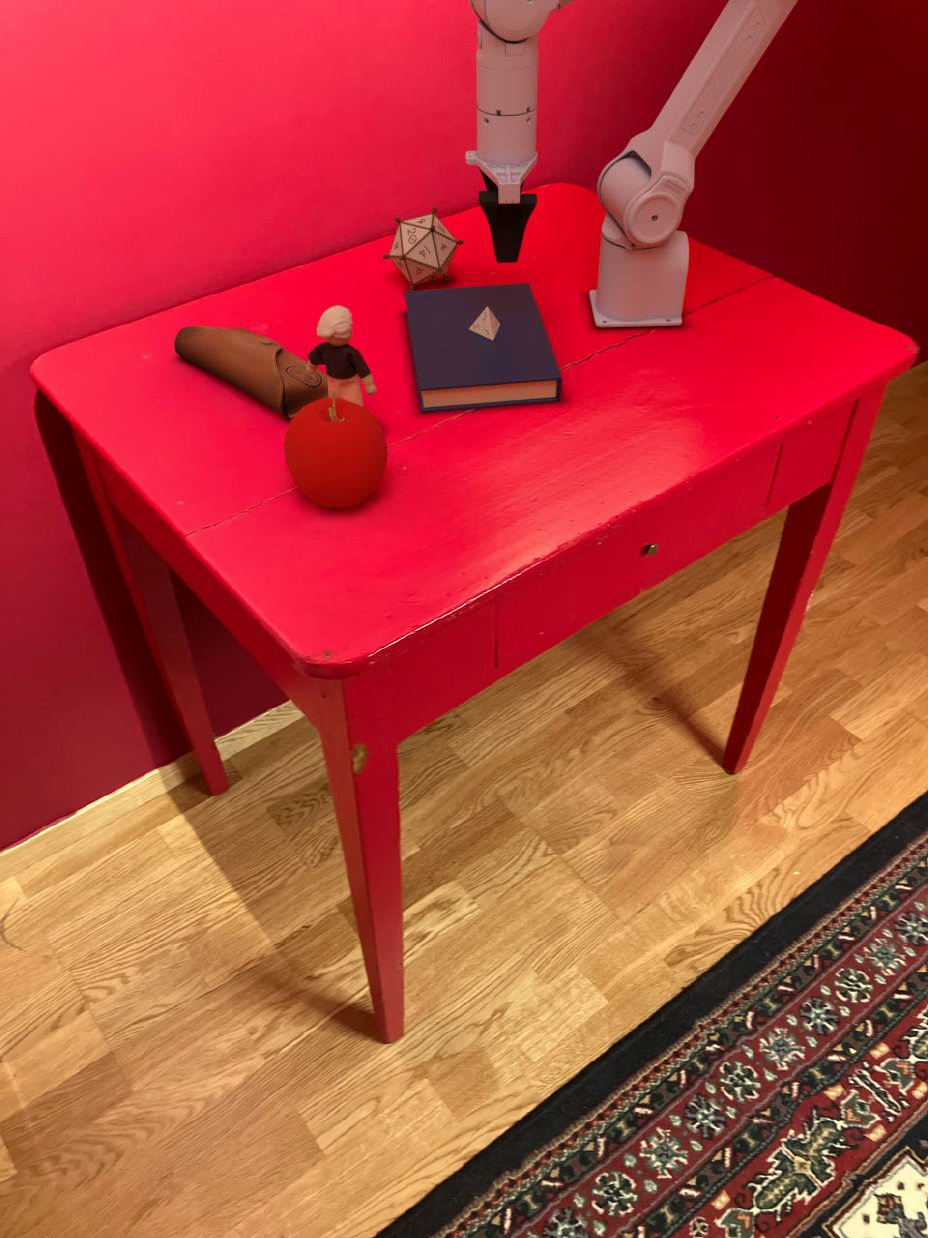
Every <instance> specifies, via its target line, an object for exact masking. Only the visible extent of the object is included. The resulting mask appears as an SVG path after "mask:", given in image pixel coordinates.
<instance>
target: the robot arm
mask: <svg viewBox="0 0 928 1238" xmlns="http://www.w3.org/2000/svg"><path fill="white" fill-rule="evenodd" d="M576 1H577V0H468V3H469V5H470V7H471V10H472V12H473V13H474V14H475V16H476V17H477V18H478V20H477V22H476V23H477V24H476V30H477V33H476V34H477V36H476V40H477V41H476V42H477V50H476V55H475V57H476V59H475V62H476V63H475V67H476V73H475V75H476V143H477V144H476V149H475V150H467V151H466V152H465V165H468V166H476V167H477V168H478V170H479V172H480V174H481V177H482V178H483V182H484V185H485V189H486V190H479V191H478V202H479V205H480V208H481V210H482V212H483V213H484V215H485V218H486V220H487V223H488V226H489V230H490V235H491V241H492V248H493V253H494V258H495V260H496V263H497V264H516V263H518V261H519V257H520V255H521V249H522V245H523V240H524V237H525V236H524V234H525V230H526V228H527V225H528V222H529V220H530V217H531V216H532V214H533V212H534V211H535V209H536V207H537V205H538V199H539V198H538V194H537V193H536V192H535V193H522V189H523V187H524V183H525V180H526V179H527V178H528V176H529V175H530V173H531V172H532V171H533V169H534V168H535V167H536V165H537V164H538V156H539V155H538V151H537V149H536V148H537V119H538V117H537V116H538V80H539V33H540V32H541V30H542V28H543V27H544V25H545V24H546V22H547V19H548V17H549V15H550V14H553V13H555V12H558V11H560V10H561V9H563V8H565V7H567V6H569V5H570V4H572V3H574V2H576ZM798 1H799V0H728V1H727V3H726V5H725V7H723V9H722V11H721V13H720V15H719V16H718V18H717V19H716V21H715V22H714V24H713V26H712V28H711V29H710V31H709V33H708V34H707V36H706V37H705V39H704V40H703V42H702V44H701V46H700V47H699V49H698V50H697V52H696V54H695V55H694V57H693V59H692V60H691V62H690V64H689V65H688V67H687V68H686V70H685V72H684V73H683V75H682V77H681V78H680V80H679V81H678V83H677V84H676V86H675V88H674V89H673V91H672V93H671V95H670V96H669V98H668V100H666V103H665V104H664V106H663V107H662V109H661V111H660V112H659V114H658V116H657V117H656V118H655V121H654V122H653V124H652V125H651V127H649V128H648V129H647V130H645V131H643V132H640V133H639V134H636V135H635V136H633V137H632V138H630V140H629V142H628V143H627V145H626V147H625V148H624V149H623V151H621V153H619V155H617V156H616V157H614V158H612V160H610V161H609V162H608V163H607V164H606V165H605V166H604V168H603V169H602V171H601V173H600V174H599V176H598V180H597V184H596V185H597V186H596V194H597V198H598V201H599V203H600V204H601V206H602V207H603V208H604V210H605V217H604V220H603V222H602V226H601V235H600V247H599V258H598V259H599V260H598V271H597V272H598V273H597V285H596V286H597V287H596V289H591V290H589V292H588V296H589V300H590V306H591V310H592V316H593V320H594V325H595V327H597V328H631V327H635V328H636V327H678V326H682V323H683V319H682V313H683V308H684V302H685V301H684V300H685V294H686V287H687V279H688V273H689V264H690V247H689V246H690V243H689V238H688V234H687V232H686V231H683V230H677V229H678V228H679V226H680V224H681V222H682V218H683V214H684V209H685V205H686V203H687V200H688V199H689V196H691V193H692V192H693V191H694V189H695V166H696V165H695V163H696V158H697V157H698V155H699V154H700V152H701V150H702V149H703V148H704V146H705V144H706V143H707V141H708V140H709V138H710V137H711V135H712V133H713V132H714V131H715V129H716V127H717V126H718V124H719V122H720V121H721V119H722V118H723V116H724V115H725V114H726V113H727V110H728V109H729V108H730V106H731V104H732V102H733V101H734V100H735V98H736V97H737V95H738V94H739V92H740V90H741V89H742V88H743V86H744V84H745V83H746V81H747V80H748V78H749V76H750V75H751V73H752V72H753V70H754V69H755V68H756V65H757V64H758V63H759V62H760V59H761V58H762V57H763V55H764V53H765V52H766V51H767V48H769V45H770V44H771V42H772V41H773V39H774V38H775V37H776V35H777V33H778V32H779V30H780V28H781V27H782V26H783V24H784V22H785V21H786V20H787V18H788V16H789V15H790V13H791V12H792V10H793V9H794V7H795V6H796V4H797V2H798Z"/></svg>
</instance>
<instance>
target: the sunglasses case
mask: <svg viewBox="0 0 928 1238" xmlns="http://www.w3.org/2000/svg"><path fill="white" fill-rule="evenodd" d="M173 343H174V345H173V346H174V352H175V354H176V355H177V356H179V357H180V358H181V359H184V360H185V361H187V362H189V363H192V364H194V365H195V366H198V367H200V368H201V369H203V370H205V371H208V372H210V373H213V374H214V375H215V376H217V377H218V378H220V379H222V380H224V381H225V382H227V383H228V384H230V385H232V386H234V387H236V388H237V389H239V390H240V391H243V392H244V393H245V394H247V395H249V396H251V397H253V398H254V399H256V400H258V401H260V402H261V403H262V404H264V405H265V406H267V407H269V408H271V409H273V411H276V412H277V413H279V414H282V415H283V416H285V417H287V418H288V419H291V420H292V418H293V417H294V416H295V415H296V414H297V413H298V412H299V411H300V410H301V409H302V408H303V407H304V406H306V405H308V404H310V403H312V402H314V401H317V400H320V399H325V398H329V393H328V376H327V373H326V372H324V371H322V370H321V369H319V368H318V367H317V371H316V372H315V373H314V374H310V373H308V372H307V370H306V366H307V364H308V361H306V360H304V359H303V358H301V357H299V356H297V355H296V354H294V353H292V352H290V351H289V350H286V348H284V346H283V345H282V344H281V343H279V342H277V341H275V340H273V339H272V338H269V337H267V336H264V335H260V334H257V333H256V332H253V331H250V330H249V329H246V328H243V327H236V328H223V327H216V326H205V325H204V326H202V325H197V326H196V325H194V326H193V325H192V326H184V327H181V328H180V329H179V330H178V332H177V333H176V336H175V338H174V342H173Z"/></svg>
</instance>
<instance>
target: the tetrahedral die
mask: <svg viewBox="0 0 928 1238" xmlns="http://www.w3.org/2000/svg"><path fill="white" fill-rule="evenodd" d="M499 326H500V323H499V322H498V320H497V319H496V318H495V316H494V315H493V313H492V312H491V310H490V309H489V308H488V307H486V309H485V310H484V311H483V312H482V313H481V315H480V316H479V317H478V318H477V320H476V321H475V322H474V323H473V324H472V326H471V327H470V328H469V330H471V331H473V332H475V333H477V334H479V335H481V336H483V337H486V338H488V339H490V340H492V341H493V340H494V338H495V335H496V333H497V331H498V328H499Z"/></svg>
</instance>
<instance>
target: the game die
mask: <svg viewBox="0 0 928 1238" xmlns="http://www.w3.org/2000/svg"><path fill="white" fill-rule="evenodd" d="M437 211H438V209H437V205H435V206H433V208H432V210H431V213H427V214H424V215H421V216H416V217H412V218H408V219H405V220H401V218H400V216H398V215H397V216H396V215H394V221H395V222H396V223H398V225H397V227H396V230H395V234H394V237H393V240H392V243H391V246H390V250H389V253H388V254H387V253H386V254H383V255H382V256H381V259H383V260H388V259H390V261H391V262H392V263H393V264H394V265H395V266H396V268H397V269H398V270H399V271H400V272H401V274H402V275H403V276H404V277H405V278H406V280H407V281H408V282H409V283H410V287H409V291H415V286H416V285H420V284H423V283H427V282H431V281H435V280H438V279H442V278H444V280H445V281H446V282H451V277H450V276H449V275H448V272H449V270H450V268H451V267H450V266H451V265H452V262H453V258H454V256H455V253H456V250H457V248H458V245H460V246H461V245H464V244H465V242H466V240H463V239H458V240H457V239H456V237H454V236H453V235H452V233H451V232H450V231H449V230H448V228H447V226H445V225H444V223H443V222H442V221H441V220H440V219H439V217H438V216H437V215H436V213H437Z"/></svg>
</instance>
